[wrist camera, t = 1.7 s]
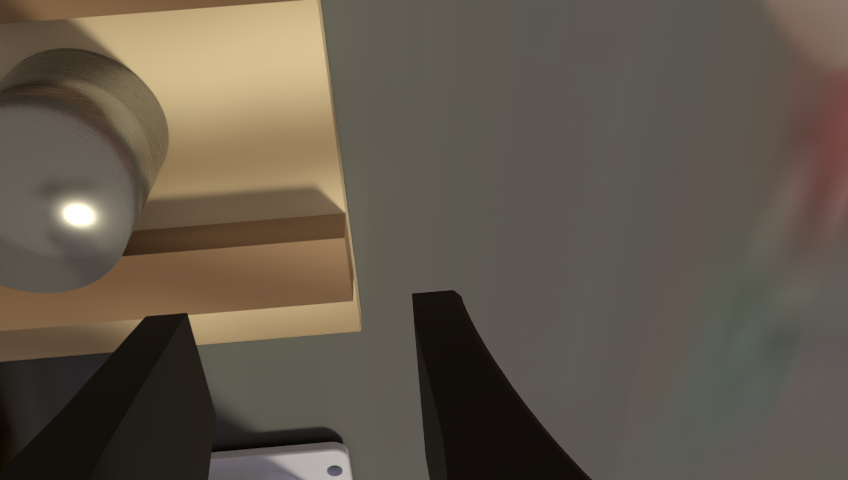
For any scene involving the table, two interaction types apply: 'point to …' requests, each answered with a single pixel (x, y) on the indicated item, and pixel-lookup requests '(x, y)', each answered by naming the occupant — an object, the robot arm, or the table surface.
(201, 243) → the slot board
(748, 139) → the table surface
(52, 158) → the puck
